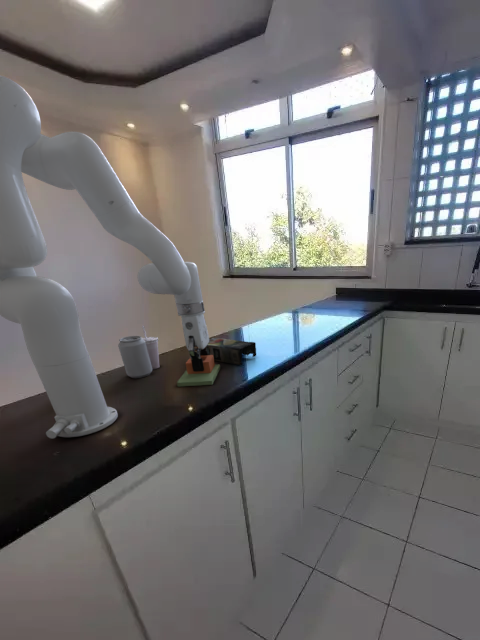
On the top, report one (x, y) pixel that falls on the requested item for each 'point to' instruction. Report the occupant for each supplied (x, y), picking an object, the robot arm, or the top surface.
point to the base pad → (199, 378)
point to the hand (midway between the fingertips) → (201, 366)
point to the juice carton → (230, 350)
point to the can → (135, 356)
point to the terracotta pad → (207, 364)
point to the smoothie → (152, 349)
